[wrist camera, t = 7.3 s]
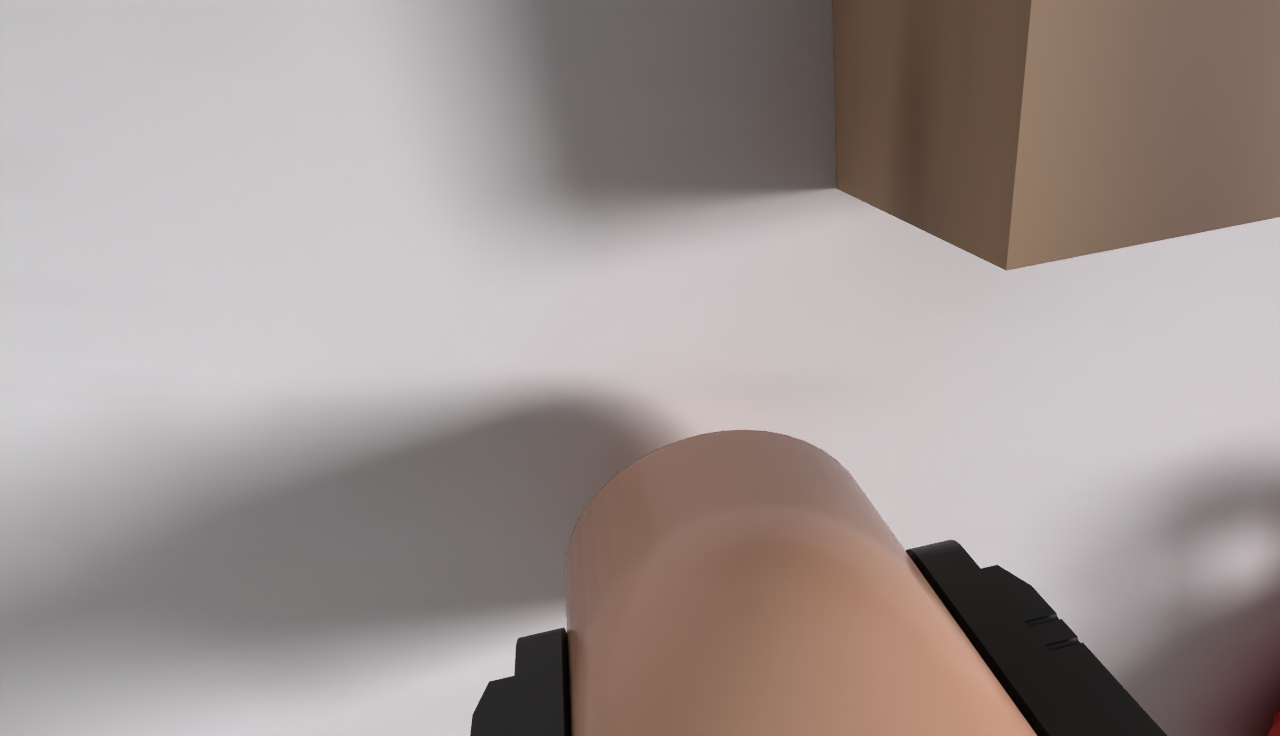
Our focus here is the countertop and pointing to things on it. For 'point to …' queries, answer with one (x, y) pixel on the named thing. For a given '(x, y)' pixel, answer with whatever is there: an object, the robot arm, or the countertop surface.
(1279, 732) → the teapot
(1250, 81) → the block
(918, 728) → the dome-topped cylinder
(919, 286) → the countertop surface
